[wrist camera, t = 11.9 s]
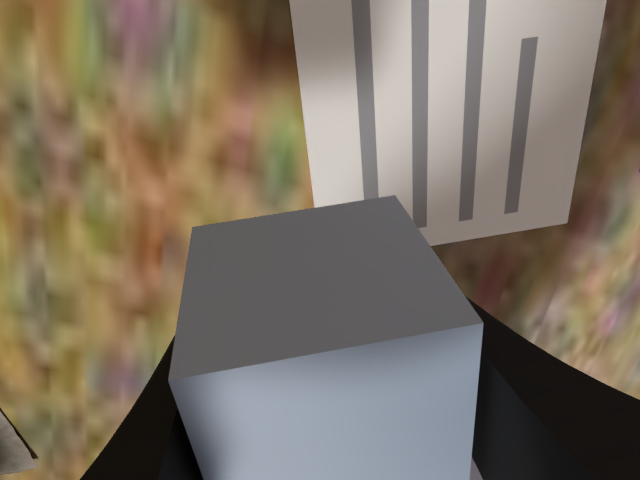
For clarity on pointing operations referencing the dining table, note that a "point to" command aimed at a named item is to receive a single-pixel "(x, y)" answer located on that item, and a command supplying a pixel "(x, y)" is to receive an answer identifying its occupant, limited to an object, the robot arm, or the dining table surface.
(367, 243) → the cube
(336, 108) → the letter
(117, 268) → the dining table surface
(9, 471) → the condiment
